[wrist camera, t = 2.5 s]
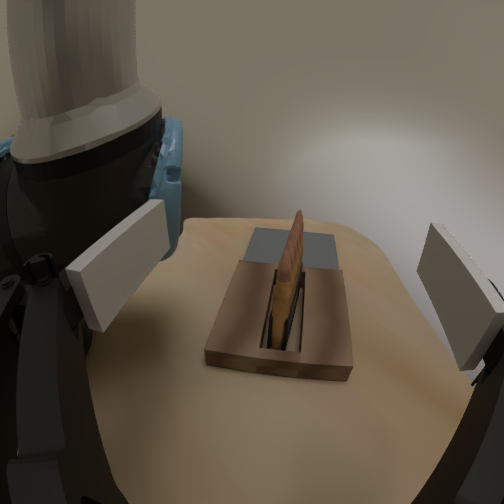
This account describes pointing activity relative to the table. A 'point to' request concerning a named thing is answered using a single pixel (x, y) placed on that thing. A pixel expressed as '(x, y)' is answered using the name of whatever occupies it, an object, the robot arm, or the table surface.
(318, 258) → the slate mat
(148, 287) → the table surface
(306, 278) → the walnut caddy
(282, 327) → the ammunition clip
